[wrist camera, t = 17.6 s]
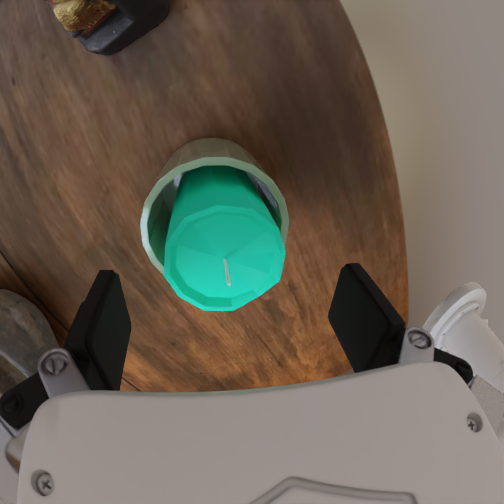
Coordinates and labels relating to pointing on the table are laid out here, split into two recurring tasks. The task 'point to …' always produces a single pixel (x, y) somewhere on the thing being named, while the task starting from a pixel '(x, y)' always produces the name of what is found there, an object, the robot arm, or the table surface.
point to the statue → (108, 21)
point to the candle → (221, 240)
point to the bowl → (21, 339)
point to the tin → (190, 158)
